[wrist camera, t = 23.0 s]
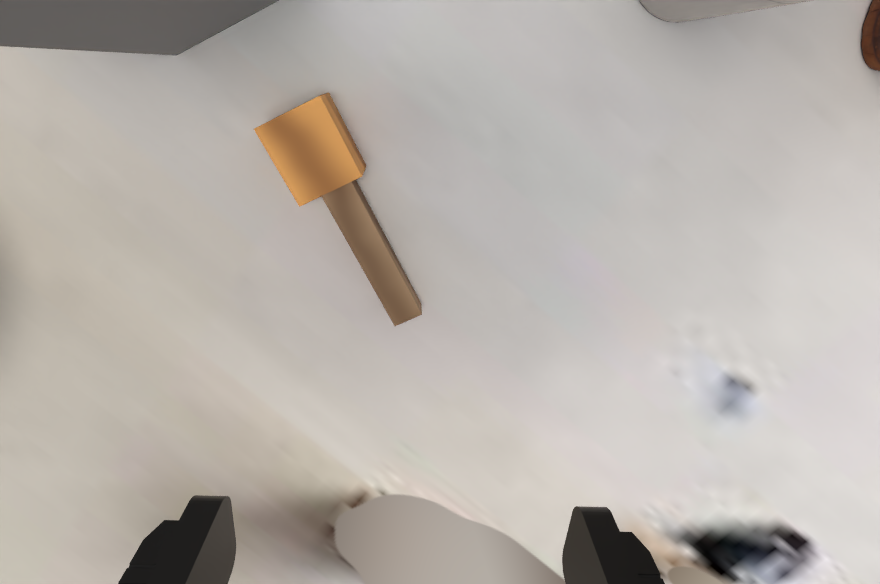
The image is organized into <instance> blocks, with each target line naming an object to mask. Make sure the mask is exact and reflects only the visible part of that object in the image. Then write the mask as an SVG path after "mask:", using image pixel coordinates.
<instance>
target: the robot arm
mask: <svg viewBox="0 0 880 584" xmlns="http://www.w3.org/2000/svg"><path fill="white" fill-rule="evenodd" d="M806 1H812V0H640V2H641V3H642V5H643V6H644V7H645V8H646V9H647V11H648V12H650V13H651V14H653V15H654V16H655V17H657V18H659V19H662V20H665V21H669V22H684V21H691V20H697V19H704V18H711V17H717V16H723V15H729V14H735V13H741V12H747V11H753V10H759V9H765V8H772V7H778V6H784V5H790V4H796V3H800V2H806ZM235 554H236V538H235V530H234V522H233V514H232V506H231V500H230V498H229V497H228V496H193V497H192V498H191V500H190V501H189V503H188V505H187V507H186V508H185V510H184V512H183V514H182V516H181V518H180V520H179V521H175V520H164V521H163V522H162V523H161V524H160V525H159V526H158V527H157V528H156V529H155V530H153V531H152V532H151V533H150V534H149V535H148V536H147V537H146V538H145V539H144V540H143V541H142V543H141V545H140V546H139V548H138V550H137V552H136V553H135V555H134V557H133V559H132V560H131V562H130V566H129V568H127V569H126V571H125V572H124V574H123V576H122V578H121V579H120V581H119V583H118V584H228V581H229V578H230V575H231V572H232V569H233V565H234V560H235ZM562 563H563V573H564V578H565V582H566V584H665V583H664V581H663V579H661V578H660V573H659V570H658V568H657V566H656V564H655V562H654V560H653V558H652V556H651V554H650V552H649V550H648V549H647V548H646V547H645V546H644V545H643V544H642V543H641V542H640V541H639V539H638V538H637V537H636V536H635V535H634V534H633V533H632V532H620V531H619V529H618V527H617V525H616V522H615V520H614V518H613V515H612V513H611V511H610V510H609V509H608V508H607V507H575V508H574V509H573V512H572V516H571V520H570V524H569V528H568V532H567V537H566V541H565V545H564V549H563V557H562Z"/></svg>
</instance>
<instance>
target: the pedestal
mask: <svg viewBox="0 0 880 584" xmlns="http://www.w3.org/2000/svg"><path fill="white" fill-rule="evenodd" d="M277 1H278V0H0V46H9V47H28V48H47V49H66V50H85V51H105V52H124V53H143V54H162V55H178V54H180V53H182V52H183V51H185V50H187V49H189V48H191V47H193V46H195V45H196V44H198V43H200V42H202V41H204V40H206V39H208V38H209V37H211V36H213V35H215V34H217V33H219V32H221V31H223V30H224V29H226V28H228V27H230V26H232V25H234V24H236V23H237V22H239V21H241V20H243V19H245V18H247V17H249V16H250V15H252V14H254V13H256V12H258V11H260V10H262V9H264V8H265V7H267V6H269V5H271V4H273V3H275V2H277Z"/></svg>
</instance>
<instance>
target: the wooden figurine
mask: <svg viewBox="0 0 880 584" xmlns="http://www.w3.org/2000/svg"><path fill="white" fill-rule="evenodd" d="M862 32H863V36H862V41H861V46H862V51H863V56H864V59H865V62H866V64H867V65H868V66H869V67H870V68H871V69H874V70H878V71H880V0H873V1H872V3H871V6H870V10H869V12H868V15H867V17H866V20H865V22H864V25H863V30H862Z"/></svg>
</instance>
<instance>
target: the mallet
mask: <svg viewBox="0 0 880 584" xmlns="http://www.w3.org/2000/svg"><path fill="white" fill-rule="evenodd" d="M254 130H255V132H256V134H257V135H258V137H259V139H260V140H261V142H262V144H263V145H264V147H265V149H266V151H267V152H268V154H269V156H270V157H271V159H272V161H273V162H274V164H275V166H276V168H277V169H278V171H279V173H280V174H281V176H282V178H283V179H284V181H285V183H286V185H287V186H288V188H289V190H290V191H291V193H292V195H293V196H294V198H295V200H296V202H297V203H298V205H299V207H300V206H302V205H304V204H306V203H308V202H310V201H312V200H314V199H316V198H319V197H321V196H322V198H323V200H324V201H325V203H326V205H327V207H328V208H329V210H330V212H331V214H332V216H333V217H334V219H335V221H336V223H337V224H338V226H339V228H340V230H341V231H342V233H343V235H344V237H345V239H346V240H347V242H348V244H349V246H350V247H351V249H352V251H353V253H354V255H355V256H356V258H357V260H358V262H359V263H360V265H361V267H362V269H363V270H364V272H365V274H366V276H367V278H368V279H369V281H370V283H371V285H372V286H373V288H374V290H375V292H376V294H377V295H378V297H379V299H380V301H381V302H382V304H383V306H384V308H385V309H386V311H387V313H388V315H389V317H390V318H391V320H392V322H393V324H394V325H395V326H396V325H399V324H401V323H403V322H406V321H408V320H410V319H412V318H415V317H417V316H419V315H422V309H421V303H420V301H419V299H418V297H417V295H416V293H415V291H414V289H413V287H412V286H411V284H410V282H409V280H408V278H407V276H406V274H405V272H404V270H403V268H402V267H401V265H400V263H399V261H398V259H397V257H396V255H395V253H394V251H393V250H392V248H391V246H390V244H389V242H388V240H387V238H386V236H385V234H384V232H383V231H382V229H381V227H380V225H379V223H378V221H377V219H376V217H375V215H374V214H373V212H372V210H371V208H370V206H369V204H368V202H367V200H366V198H365V196H364V195H363V193H362V191H361V189H360V187H359V185H358V183H357V181H356V179H358V178H360V177H362V175H363V173H364V171H365V168H366V164H365V162H364V160H363V158H362V156H361V154H360V153H359V151H358V149H357V147H356V145H355V143H354V141H353V139H352V137H351V135H350V133H349V131H348V129H347V127H346V125H345V123H344V121H343V119H342V117H341V115H340V114H339V112H338V110H337V108H336V106H335V104H334V102H333V100H332V98H331V96H330V94H329V93H326V94H323V95H320V96H318V97H316V98H314V99H312V100H310V101H308V102H306V103H304V104H302V105H300V106H298V107H296V108H294V109H292V110H290V111H288V112H286V113H284V114H282V115H280V116H278V117H276V118H275V119H273V120H271V121H269V122H267V123H265V124H263V125H261V126H259V127H257V128H255V129H254Z"/></svg>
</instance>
